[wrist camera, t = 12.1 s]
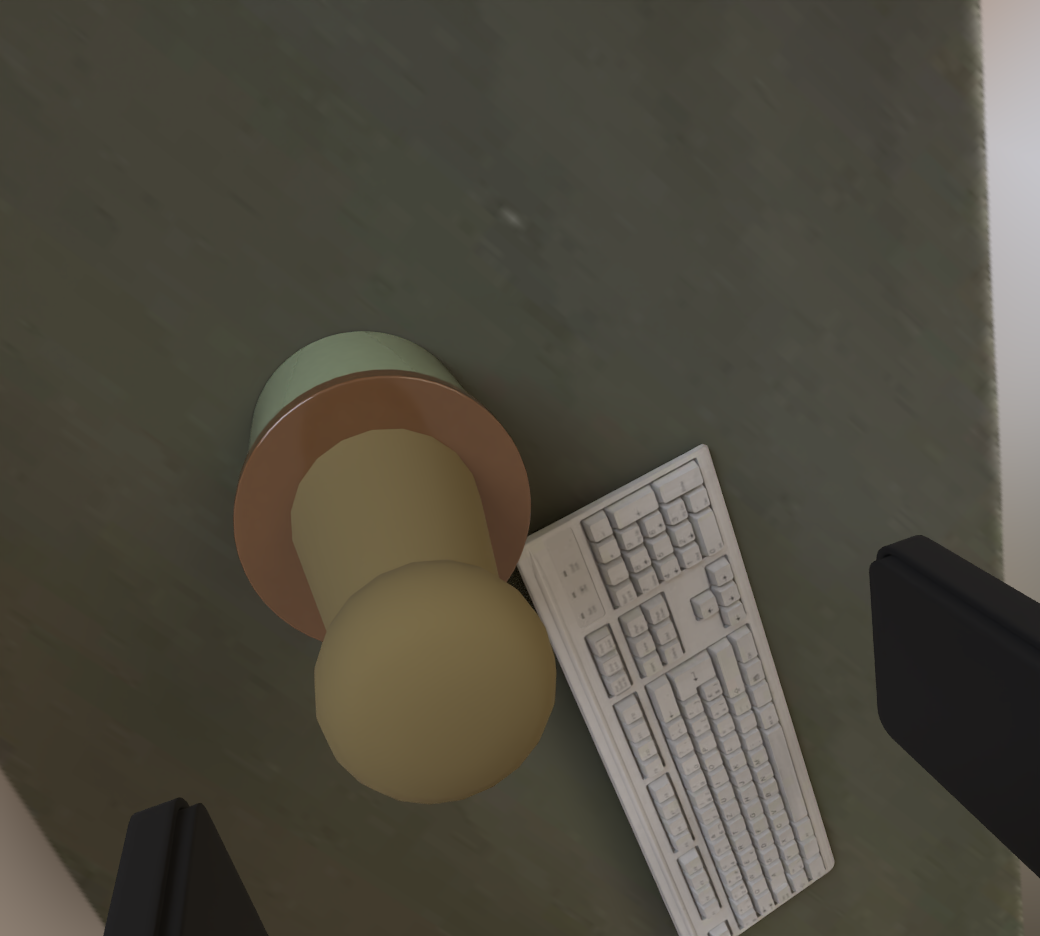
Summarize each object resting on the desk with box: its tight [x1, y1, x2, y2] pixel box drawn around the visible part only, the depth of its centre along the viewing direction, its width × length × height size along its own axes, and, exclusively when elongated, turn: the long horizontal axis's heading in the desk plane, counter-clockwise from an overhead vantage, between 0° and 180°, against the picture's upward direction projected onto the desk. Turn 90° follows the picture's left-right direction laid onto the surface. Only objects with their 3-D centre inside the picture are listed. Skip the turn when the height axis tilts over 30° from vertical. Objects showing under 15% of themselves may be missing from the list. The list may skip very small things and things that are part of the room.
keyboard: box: [517, 444, 835, 936], centre depth 43 cm, size 29×10×2 cm, turn 21°
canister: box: [233, 331, 531, 642], centre depth 31 cm, size 9×9×9 cm
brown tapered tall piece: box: [291, 429, 556, 804], centre depth 22 cm, size 6×6×11 cm
